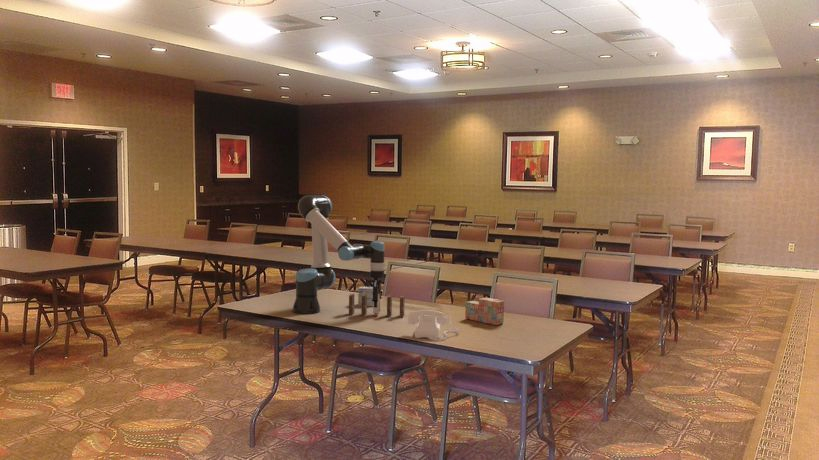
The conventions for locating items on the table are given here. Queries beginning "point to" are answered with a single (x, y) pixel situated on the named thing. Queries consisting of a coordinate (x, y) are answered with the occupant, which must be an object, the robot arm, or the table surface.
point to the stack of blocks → (485, 311)
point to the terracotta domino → (378, 306)
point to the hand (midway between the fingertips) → (376, 311)
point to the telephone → (429, 324)
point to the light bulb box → (369, 295)
